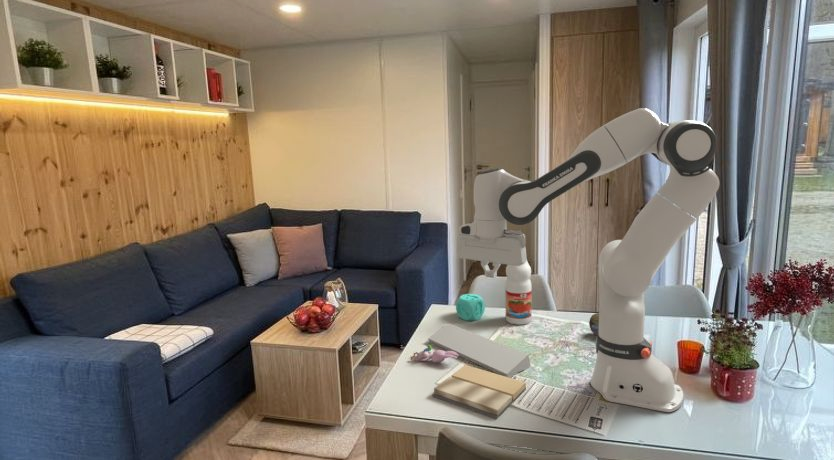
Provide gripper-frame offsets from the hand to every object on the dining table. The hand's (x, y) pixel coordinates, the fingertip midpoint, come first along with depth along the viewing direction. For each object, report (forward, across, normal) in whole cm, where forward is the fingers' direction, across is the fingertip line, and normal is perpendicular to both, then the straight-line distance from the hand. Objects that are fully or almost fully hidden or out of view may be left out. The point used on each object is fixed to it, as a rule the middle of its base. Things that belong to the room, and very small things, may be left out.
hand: (490, 276), depth 134 cm
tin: (+29, -22, -42) cm, 56 cm away
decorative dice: (+29, +28, -35) cm, 54 cm away
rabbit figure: (+30, +18, +3) cm, 35 cm away
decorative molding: (+30, +10, -8) cm, 33 cm away
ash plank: (+29, -3, +15) cm, 33 cm away
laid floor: (+29, -2, +11) cm, 31 cm away
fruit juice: (+29, +11, -41) cm, 52 cm away
